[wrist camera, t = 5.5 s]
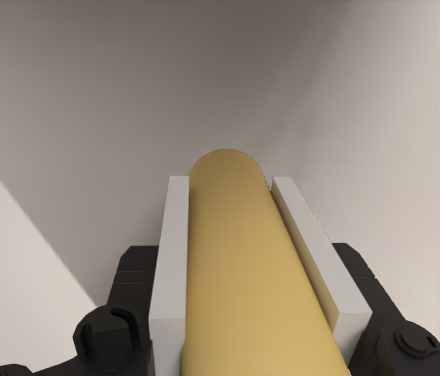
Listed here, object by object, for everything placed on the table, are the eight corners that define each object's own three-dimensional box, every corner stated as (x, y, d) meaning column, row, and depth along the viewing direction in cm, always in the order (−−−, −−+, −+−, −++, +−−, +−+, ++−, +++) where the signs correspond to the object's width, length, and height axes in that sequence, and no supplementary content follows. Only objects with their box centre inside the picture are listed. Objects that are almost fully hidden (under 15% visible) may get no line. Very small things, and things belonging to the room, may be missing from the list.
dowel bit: (187, 148, 13) (162, 609, 3) (267, 149, 14) (498, 571, 3) (187, 216, 15) (171, 655, 5) (258, 216, 16) (391, 628, 5)
